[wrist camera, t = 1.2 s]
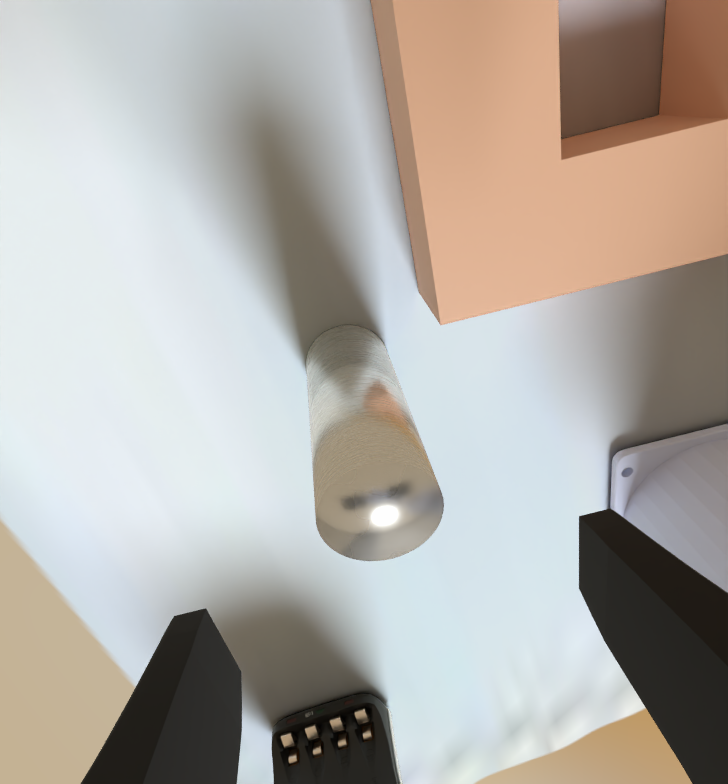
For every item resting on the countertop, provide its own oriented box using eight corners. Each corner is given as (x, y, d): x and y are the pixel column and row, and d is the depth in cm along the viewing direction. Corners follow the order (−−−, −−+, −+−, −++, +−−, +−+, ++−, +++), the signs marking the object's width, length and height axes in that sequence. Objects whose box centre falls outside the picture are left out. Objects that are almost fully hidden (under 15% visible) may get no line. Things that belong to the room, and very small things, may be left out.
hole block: (756, 208, 18) (833, 227, 16) (419, 292, 18) (440, 324, 16) (841, -318, 12) (992, -430, 10) (338, -195, 12) (351, -272, 10)
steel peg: (394, 388, 20) (451, 543, 13) (317, 407, 20) (333, 573, 13) (379, 316, 18) (434, 447, 12) (296, 336, 18) (300, 481, 12)
